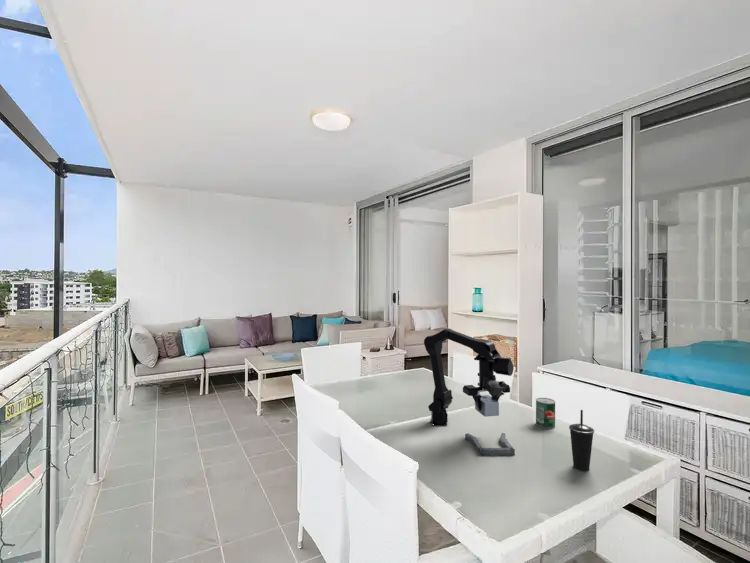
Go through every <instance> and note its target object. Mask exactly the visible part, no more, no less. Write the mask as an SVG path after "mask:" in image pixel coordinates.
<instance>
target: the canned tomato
mask: <svg viewBox="0 0 750 563" xmlns="http://www.w3.org/2000/svg"><path fill="white" fill-rule="evenodd" d="M535 424H536V426H537V427H539V428H543V429H554V428H556V401H555V400H554V399H552V398H548V397H537V398H535Z"/></svg>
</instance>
